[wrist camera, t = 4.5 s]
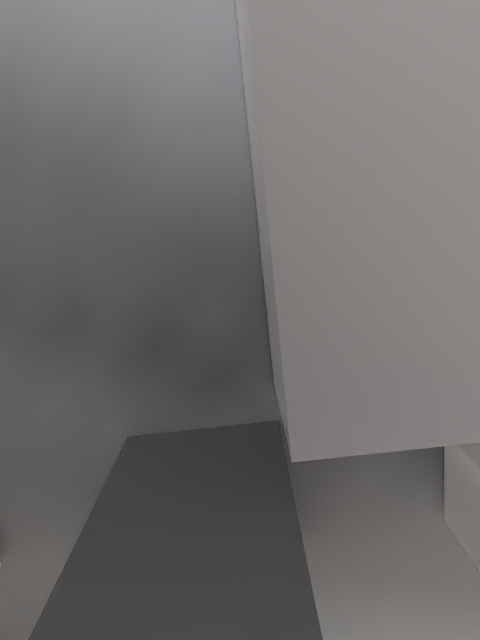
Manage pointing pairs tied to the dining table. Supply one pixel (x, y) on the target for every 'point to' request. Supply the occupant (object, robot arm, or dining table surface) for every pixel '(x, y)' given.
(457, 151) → the socket plate
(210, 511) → the plug
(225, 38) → the dining table surface
